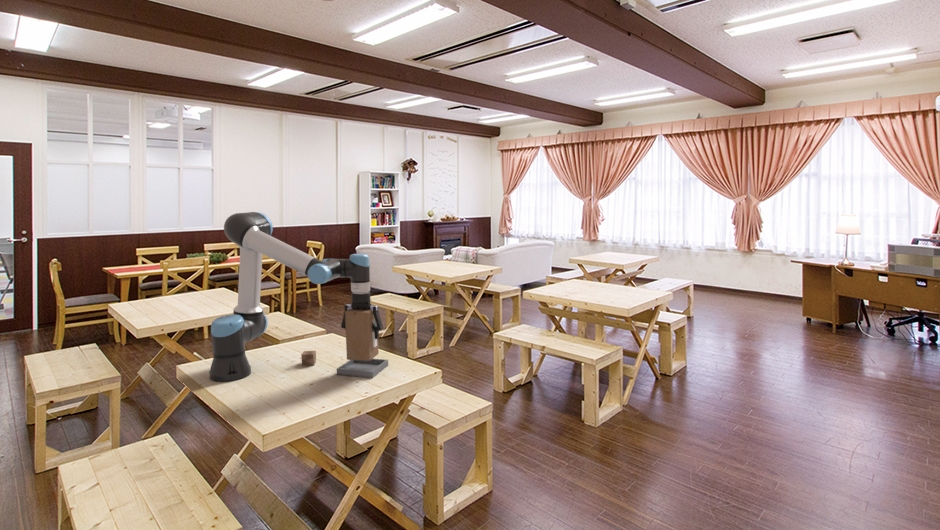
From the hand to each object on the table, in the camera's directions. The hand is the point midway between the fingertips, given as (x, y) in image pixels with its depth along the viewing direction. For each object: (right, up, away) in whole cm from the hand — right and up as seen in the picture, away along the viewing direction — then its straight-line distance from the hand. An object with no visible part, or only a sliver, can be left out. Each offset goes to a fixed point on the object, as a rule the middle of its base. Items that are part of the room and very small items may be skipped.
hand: (362, 345), depth 211 cm
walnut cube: (-25, -9, +10) cm, 28 cm away
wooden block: (0, -5, +1) cm, 5 cm away
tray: (0, -10, +1) cm, 10 cm away
